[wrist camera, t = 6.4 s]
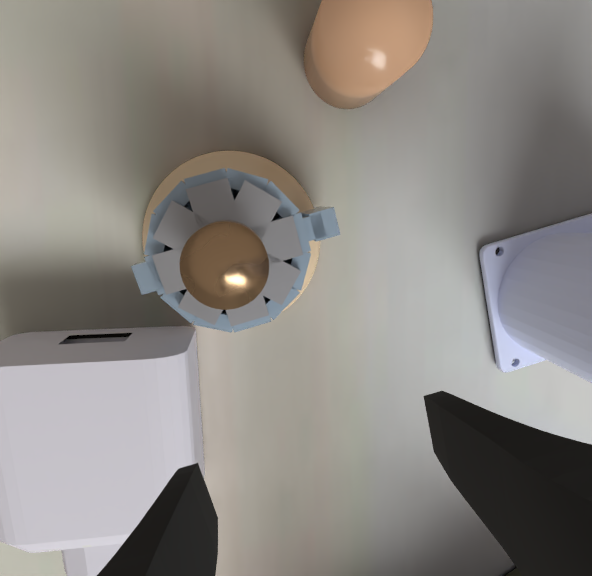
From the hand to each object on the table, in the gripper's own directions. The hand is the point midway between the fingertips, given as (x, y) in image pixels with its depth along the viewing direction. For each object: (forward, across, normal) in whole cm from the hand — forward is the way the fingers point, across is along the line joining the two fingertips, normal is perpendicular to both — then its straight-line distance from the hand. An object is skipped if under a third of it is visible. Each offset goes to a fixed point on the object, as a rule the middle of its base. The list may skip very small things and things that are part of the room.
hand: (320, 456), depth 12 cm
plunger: (+9, +1, -6) cm, 11 cm away
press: (+10, +1, -6) cm, 12 cm away
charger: (+11, +11, +4) cm, 16 cm away
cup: (+10, -6, -13) cm, 18 cm away
